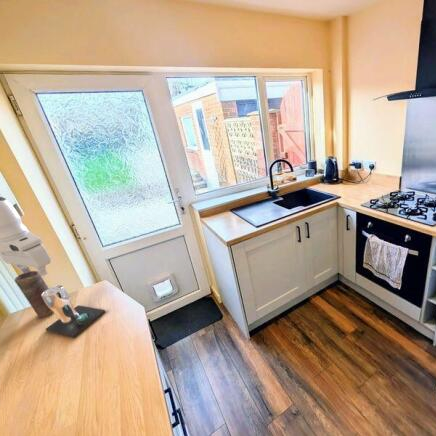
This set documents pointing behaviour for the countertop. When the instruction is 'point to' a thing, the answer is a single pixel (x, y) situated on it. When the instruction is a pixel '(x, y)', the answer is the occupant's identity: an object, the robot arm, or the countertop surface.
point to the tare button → (82, 317)
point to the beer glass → (60, 303)
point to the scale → (76, 322)
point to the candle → (34, 291)
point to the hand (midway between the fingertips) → (35, 273)
